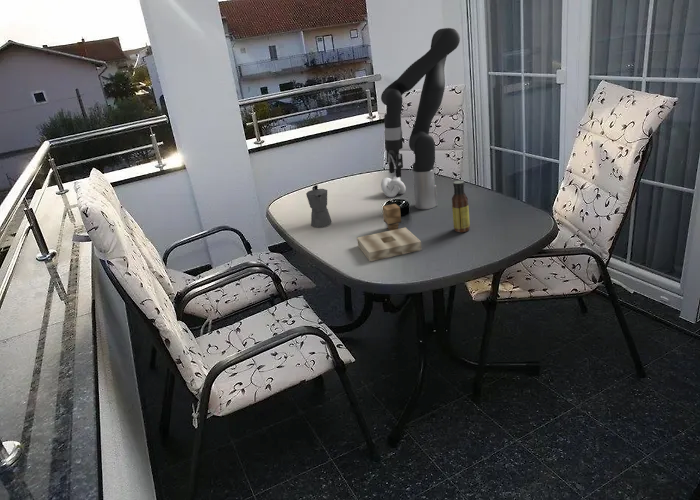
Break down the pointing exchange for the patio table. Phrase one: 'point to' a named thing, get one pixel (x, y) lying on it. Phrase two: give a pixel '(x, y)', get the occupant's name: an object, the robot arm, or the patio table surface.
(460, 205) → the sauce bottle
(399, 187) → the white knot
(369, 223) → the patio table surface
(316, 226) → the coffeepot
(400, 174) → the robot arm
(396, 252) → the birch board
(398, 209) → the oak peg
